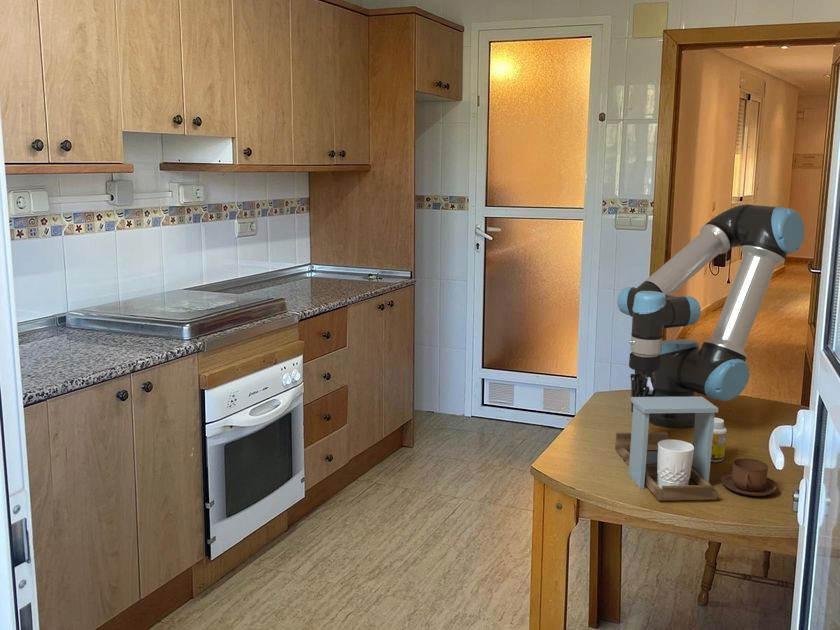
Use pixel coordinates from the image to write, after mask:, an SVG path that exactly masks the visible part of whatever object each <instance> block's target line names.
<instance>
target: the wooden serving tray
mask: <svg viewBox="0 0 840 630" xmlns="http://www.w3.org/2000/svg"><path fill="white" fill-rule="evenodd" d="M667 439H669V432H666V431H654V432H653V431H651V432H650V431H648V442H647V450H658V442H659V441H662V440H667ZM630 446H631V432H615V446H614V447H615V448H614V449H615V450H616V452H617V453H618V454H619V455H620V457H621V458H623V460H624V461H625V462H626V463H627V465H629V461H630V453H629V452H628V451H627V450H630ZM657 478H658V473H657V465H646V469H645V483H644V485H645V486H646V487H647V488H648V489H649V490H650V492H651V493H652V494H653V495H654V496H655V498H656V499H657V500H658V501H681V500H682V501H683V500H685V501H686V500H688V501H690V500H693V501H695V500H717V499H718V493H719V492H718V490H716V488H715V487H714V486H713V485H712V484H711V483H710V482H709V483H708V482H707V481H706V480H705V479H704V478H703V477H702V476H701V475H700V474H699V473H698V472H697V471H696V470H695V469H694V468H693V467H692V468H691V474H690V479H691V480H693V482H695V483H696V484H697V485H696V484H694V485H693V484H692V485H690V484H689V485H682V486H662V489H661V488H660V487H659V486H658V485H657V483H656V482H655V481H654V479H657Z"/></svg>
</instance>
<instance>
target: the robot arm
mask: <svg viewBox="0 0 840 630" xmlns="http://www.w3.org/2000/svg"><path fill="white" fill-rule="evenodd" d="M804 238H805V225H804V221H803V218H802V217H801V215H800V213H798V212H797V210H795V209H793V208H790V207H783V206H769V205H757V204H740V205H737V206H733V207H731V208H729V209H727V210H725V211H722V212H721V213H719V214H717V215H716V216H715V217H712V218H711V219H710V220H709V221H708V222H706V223H705V224H704V225H703V226H701V228H700V230H699V233H698V234H697V236H695V237H694V238H693V239H692V240H691V241H690V242H689V243H688V244H686V245H685V246H684V247H683V248H681V249H680V251H679V250H678V252H677V253H676V254H674V255H673V256H672V257H671V258H670V259H669V260H668V261H666V262H665V263H664V264H663V265H661V266H660V267H659V268H658V269H657V270H656V271H654V272H653V273H652V274H651V275H650V276H649V277H648V278H647V279H646V280H644V282H642V283H641V284H639V286H637V287H635V286H630V287H629V286H628V287H625V288H623V289H621V291H620V293H619V294H618V297H617V302H616V303H617V307H618V309H619V311H620V312H621V313H622V314H625V316H626V315H627V316H630V317H632V319H631V333H630V334H631V336H630V337H631V338H630V339H631V340H629V341H628V343H629V344H630V348H629V350H630V353H629V358H628V359H629V360H628V366H629V368H630V369H631V370H633V371H634V373H630V385H631V386H630V389H631V390H630V394H631V396H630V398H631V397H696V396H695V394H696V393H697V394H699V395H701V396H702V395H703V396H706V397H708V398H710V399H712V400H719V401H723V402H724V401H725V402H726V401H731V400H734V399H735V398H737V397H739V396H740V395H741V393H742V392H744V390H745V389H746V387H747V385H748V383H749V379H750V373H749V372H750V368H749V365H748V364H747V362H746V360H747V357H748V356H747V354H746V352H745V348H746V347H745V346H746V344H747V341H748V339H749V336H750V334H751V331H752V328H753V326H754V323H755V320H756V319H757V315H758V313H759V311H760V308H761V306H762V303H763V300H764V298H765V295H766V292H767V290H768V288H769V286H770V283H771V281H772V280H771V279H772V277H773V275H774V272H775V270H776V268H777V266H779V265H781V264H784V263H785V261H786V258H787V256H788V254H794V253H796V252H797V251H798V250H800V248H801V246H802V244H803V242H804ZM737 247H740V252H741V253H742V255H743V257H742V260H741V262H740V264H739V266H738V269H737V272H736V274H735V277H734V279H733V281H732V284H731V287H730V290H729V293H728V295H727V297H726V300H725V302H724V305H723V307H722V310H721V312H720V315H719V318H718V321H717V323H716V325H715V329H714V331H713V333H712V334H711V335H712V336H711V337H710V338H708V339H705V340H703V343H702V345H701V348H700V345H699V342H698V341H697V340H695V339H684V338H683V339H682V338H681V339H675V338H674V339H666V340H665V339H664V340H663V336H664V329H672V328H679V327H682V328H683V327H688V326H691V325H694V324H696V323H697V322H698V321H699V319H700V318H701V313H702V308H701V305H700V303H699V300H697V299H696V297H693V296H685V295H681V296H674V293H676V292H677V291H678V290H679V289H680V288H681V287H682V286H684V285H685V284H686V283H687V282H688V281H689V280H691V279H692V278H693V277H694V276H695V275H696V274H697V273H699V272H700V271H701V270H702V269H703V268H705V267H706V265H708V264H709V263H710V262H711V261H713V260H714V258H716V257H717V256H718V255H723V254H726V253H728V252H729V251H730V250H731V249H733V248H737ZM630 402H631V401H630ZM630 405H631V407H630V408H631V409H630V410H631V413H633V403H632V402H631V403H630ZM650 423H651V424H653V425H656V426H659V427H666V428H671V429H673V428H674V429H675V428H676V429H686V428H694V424H695V413H650V414H649V424H650Z"/></svg>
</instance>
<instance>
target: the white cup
mask: <svg viewBox="0 0 840 630" xmlns="http://www.w3.org/2000/svg"><path fill="white" fill-rule="evenodd" d="M693 453H694V446H693V443H690V442H689V441H684V440H680V439H670V438H668V439H667V440H662V441H659V442H658V457H657V473H658V478H656V481H657V483H656V484H657V485H658V486H659V487H660V488H661V490H662V486H682V485H690V484H689V483H690V479H691V477H690V474H691V468H692V461H693Z"/></svg>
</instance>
